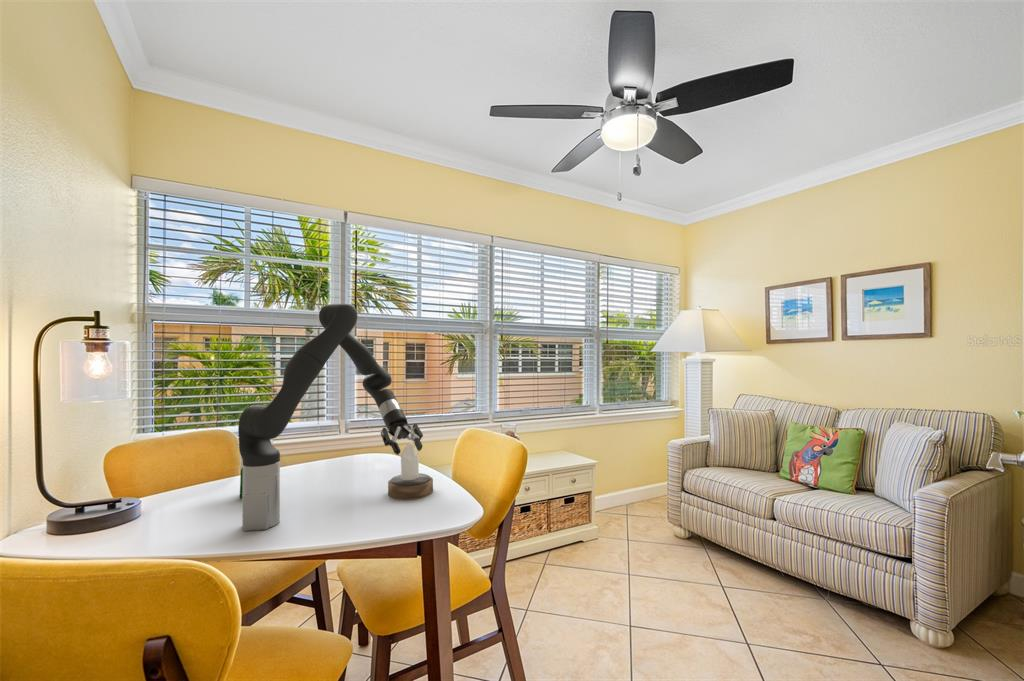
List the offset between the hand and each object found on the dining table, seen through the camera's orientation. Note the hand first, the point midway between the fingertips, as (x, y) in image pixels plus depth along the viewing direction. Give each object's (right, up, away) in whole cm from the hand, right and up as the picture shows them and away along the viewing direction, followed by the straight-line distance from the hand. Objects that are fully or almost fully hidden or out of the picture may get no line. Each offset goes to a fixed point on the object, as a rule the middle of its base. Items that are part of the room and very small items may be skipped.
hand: (409, 451), depth 157 cm
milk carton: (-52, -14, -2) cm, 54 cm away
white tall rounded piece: (0, -9, -1) cm, 9 cm away
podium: (0, -14, -1) cm, 14 cm away
